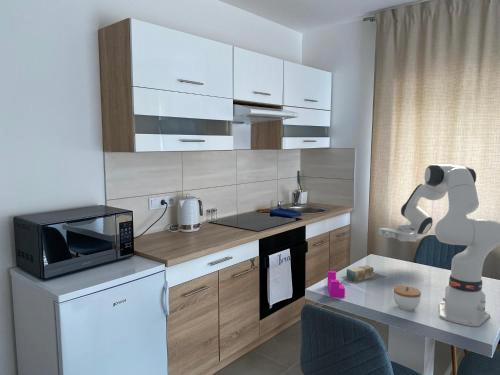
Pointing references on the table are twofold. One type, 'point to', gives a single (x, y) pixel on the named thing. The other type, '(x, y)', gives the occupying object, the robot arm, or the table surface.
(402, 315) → the table surface
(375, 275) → the mat
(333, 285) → the toy block
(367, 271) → the tall block
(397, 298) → the lidded jar
